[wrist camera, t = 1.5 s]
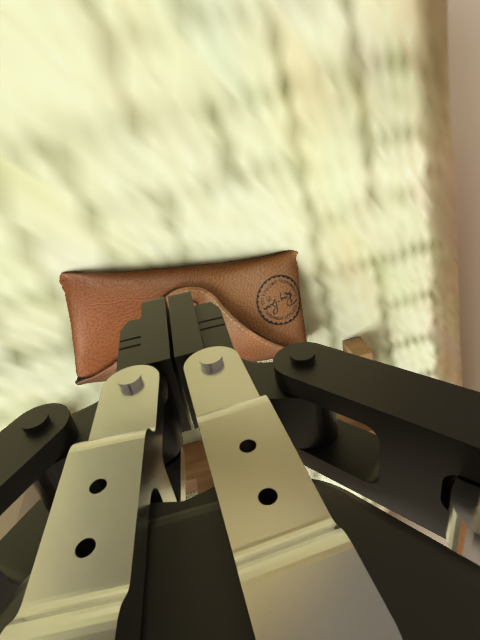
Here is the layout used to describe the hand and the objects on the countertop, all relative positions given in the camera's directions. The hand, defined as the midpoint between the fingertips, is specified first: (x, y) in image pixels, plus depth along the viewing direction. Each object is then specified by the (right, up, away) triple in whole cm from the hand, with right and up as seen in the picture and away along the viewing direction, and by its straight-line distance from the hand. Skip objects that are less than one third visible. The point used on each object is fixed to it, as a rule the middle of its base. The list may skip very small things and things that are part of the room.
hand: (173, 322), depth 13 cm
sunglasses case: (-2, +1, +19) cm, 19 cm away
